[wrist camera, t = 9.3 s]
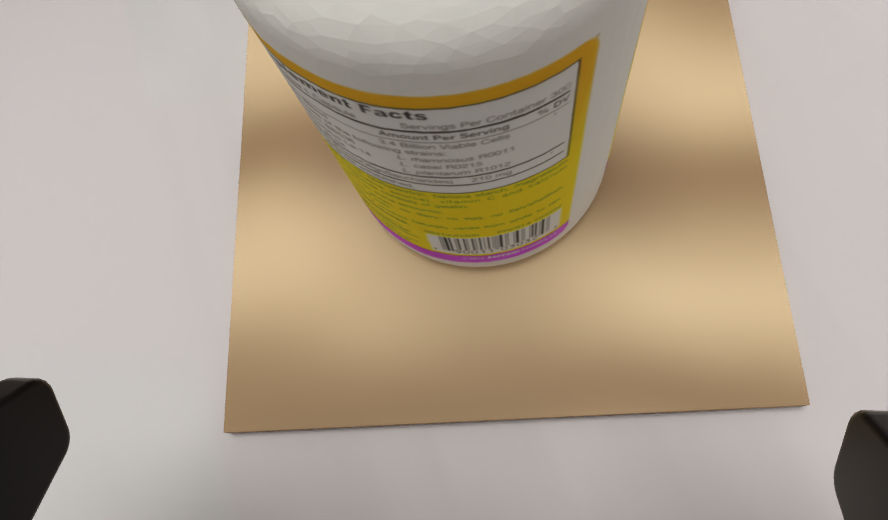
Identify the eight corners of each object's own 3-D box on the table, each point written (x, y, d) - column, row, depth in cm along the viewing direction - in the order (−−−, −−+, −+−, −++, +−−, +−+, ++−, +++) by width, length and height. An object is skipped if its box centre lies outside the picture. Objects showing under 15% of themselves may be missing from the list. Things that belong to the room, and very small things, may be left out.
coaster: (802, 406, 15) (809, 404, 15) (230, 432, 17) (223, 432, 16) (707, -72, 20) (711, -82, 19) (256, -18, 21) (251, -27, 21)
